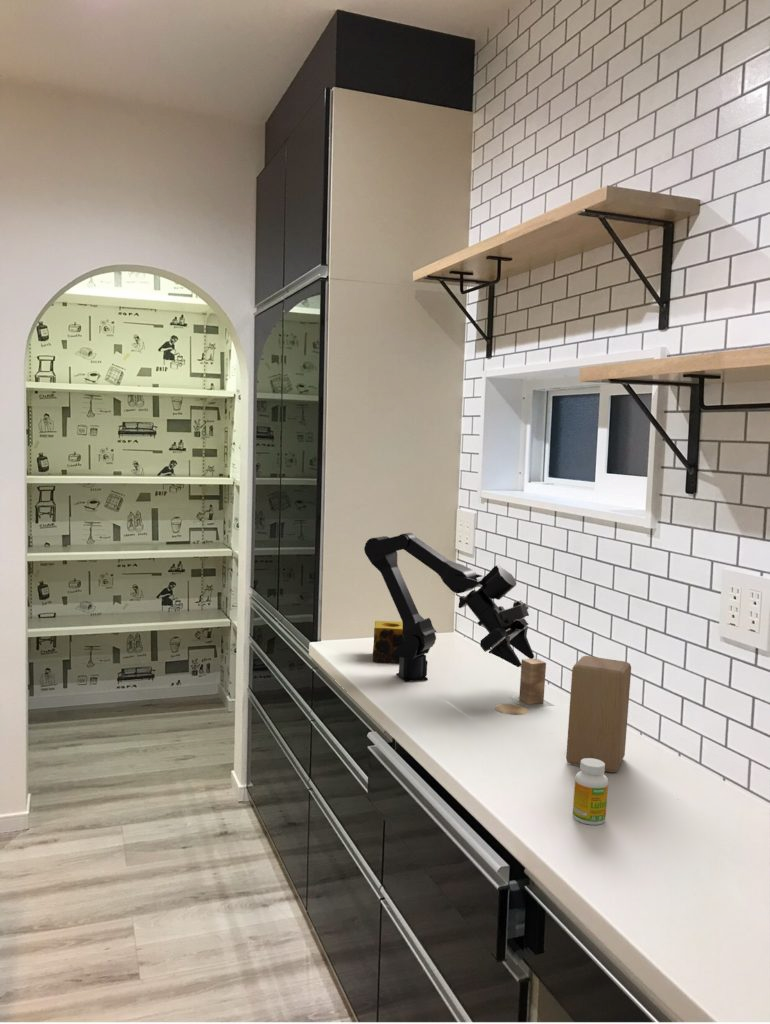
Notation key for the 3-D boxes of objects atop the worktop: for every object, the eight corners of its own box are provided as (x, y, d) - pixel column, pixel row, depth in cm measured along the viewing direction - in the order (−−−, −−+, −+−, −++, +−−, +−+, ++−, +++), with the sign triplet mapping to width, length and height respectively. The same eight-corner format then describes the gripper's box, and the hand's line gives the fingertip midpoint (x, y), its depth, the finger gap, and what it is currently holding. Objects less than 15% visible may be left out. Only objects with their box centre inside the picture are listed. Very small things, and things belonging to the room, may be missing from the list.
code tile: (525, 709, 197) (525, 707, 197) (508, 699, 204) (508, 697, 204) (554, 706, 200) (554, 705, 200) (536, 696, 207) (536, 695, 207)
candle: (408, 665, 231) (410, 629, 231) (372, 663, 232) (373, 627, 231) (407, 655, 242) (409, 621, 241) (373, 653, 242) (374, 620, 241)
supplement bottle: (590, 828, 136) (594, 771, 136) (565, 815, 141) (569, 759, 140) (612, 821, 140) (616, 764, 139) (586, 808, 144) (590, 754, 143)
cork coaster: (505, 717, 190) (505, 715, 190) (489, 706, 197) (489, 705, 197) (533, 714, 193) (534, 712, 193) (516, 704, 200) (516, 702, 200)
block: (625, 758, 168) (632, 661, 167) (616, 775, 159) (624, 673, 158) (575, 748, 173) (582, 653, 171) (564, 764, 164) (571, 664, 162)
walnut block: (528, 704, 199) (531, 663, 199) (519, 699, 203) (521, 659, 202) (543, 703, 201) (546, 662, 200) (533, 698, 205) (536, 658, 204)
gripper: (495, 596, 195) (537, 650, 191) (522, 586, 212) (562, 635, 207) (462, 624, 200) (503, 677, 195) (492, 612, 216) (530, 661, 212)
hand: (526, 662), depth 202 cm, fingers open, 9 cm apart
